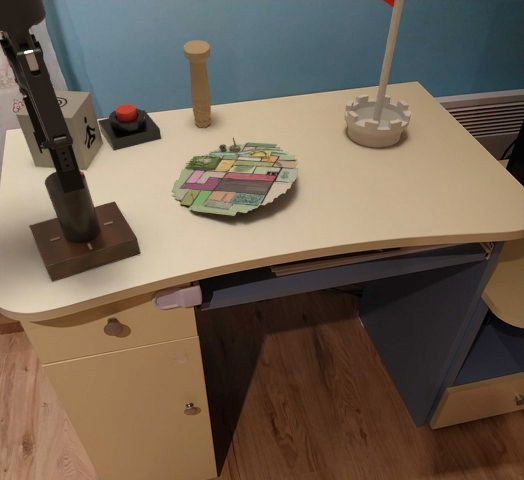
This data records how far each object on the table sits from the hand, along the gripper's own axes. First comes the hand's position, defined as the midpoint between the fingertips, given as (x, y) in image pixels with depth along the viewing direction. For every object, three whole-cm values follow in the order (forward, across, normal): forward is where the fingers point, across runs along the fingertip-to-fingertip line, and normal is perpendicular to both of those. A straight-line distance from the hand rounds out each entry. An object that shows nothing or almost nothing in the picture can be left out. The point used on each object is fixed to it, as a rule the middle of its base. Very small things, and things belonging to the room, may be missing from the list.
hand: (60, 165), depth 68 cm
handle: (+14, +28, -33) cm, 46 cm away
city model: (+15, +5, -29) cm, 33 cm away
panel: (+14, 0, 0) cm, 14 cm away
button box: (+14, +31, -18) cm, 39 cm away
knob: (+11, 0, 0) cm, 11 cm away
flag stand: (+15, +8, -63) cm, 65 cm away
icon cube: (+14, +29, -5) cm, 33 cm away
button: (+11, +31, -18) cm, 37 cm away
